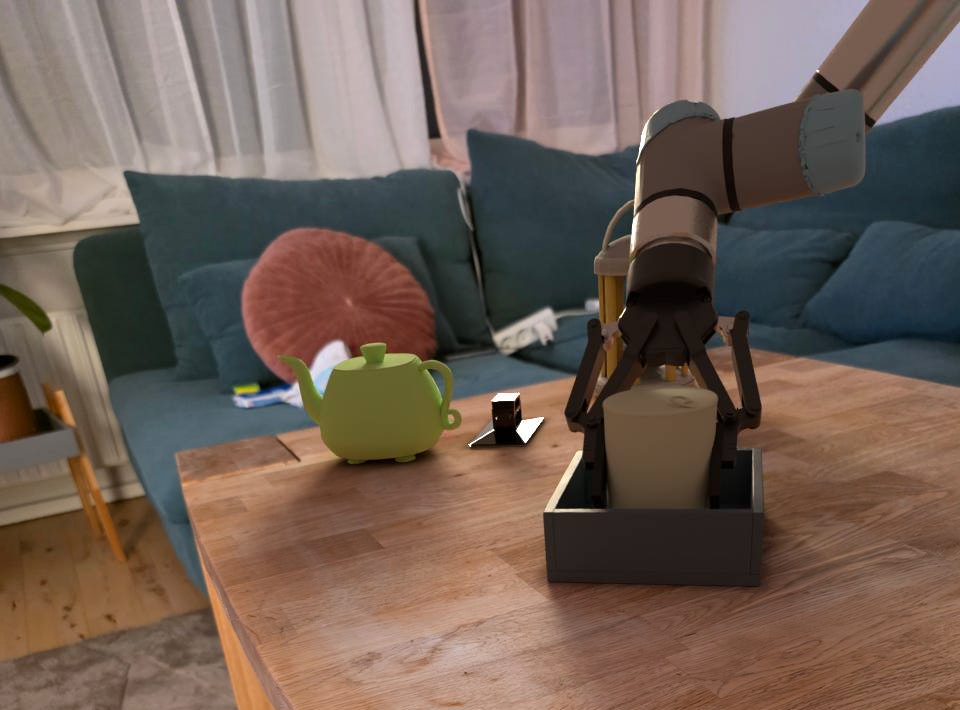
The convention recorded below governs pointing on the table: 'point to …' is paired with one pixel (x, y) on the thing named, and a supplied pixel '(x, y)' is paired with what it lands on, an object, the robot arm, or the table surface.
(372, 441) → the teapot
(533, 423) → the dark brown finned block
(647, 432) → the can
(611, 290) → the lantern
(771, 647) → the table surface
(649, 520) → the dark grey open box
